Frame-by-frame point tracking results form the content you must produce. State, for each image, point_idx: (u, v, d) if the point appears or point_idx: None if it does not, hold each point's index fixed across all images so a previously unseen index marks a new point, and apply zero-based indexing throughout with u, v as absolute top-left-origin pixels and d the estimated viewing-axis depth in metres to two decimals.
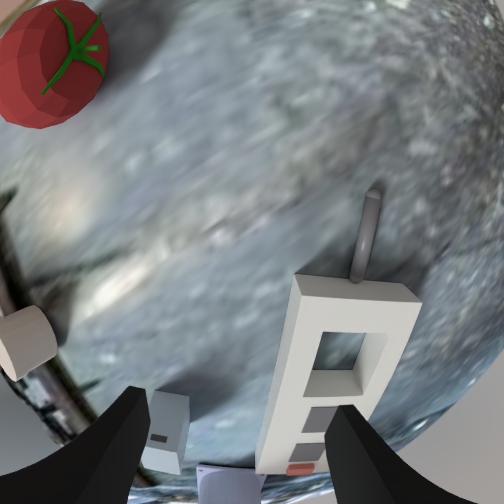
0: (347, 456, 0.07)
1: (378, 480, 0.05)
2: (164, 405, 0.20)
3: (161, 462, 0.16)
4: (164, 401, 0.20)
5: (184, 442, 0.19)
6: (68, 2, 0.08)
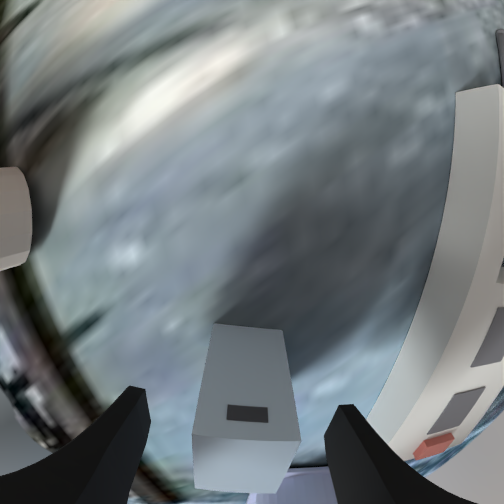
0: (347, 456, 0.07)
1: (378, 480, 0.05)
2: (240, 346, 0.11)
3: (244, 473, 0.07)
4: (238, 340, 0.11)
5: None
6: None
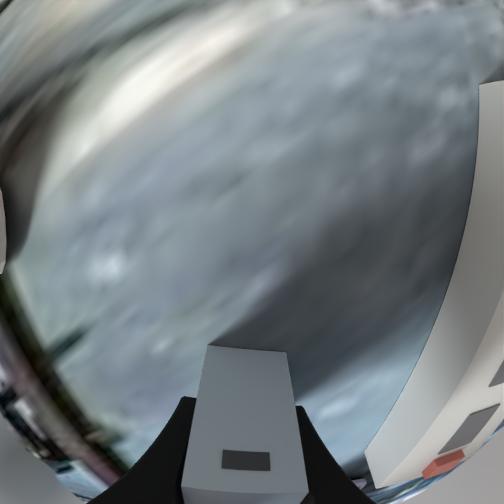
0: None
1: (309, 490, 0.05)
2: (238, 375, 0.09)
3: None
4: (235, 366, 0.10)
5: None
6: None
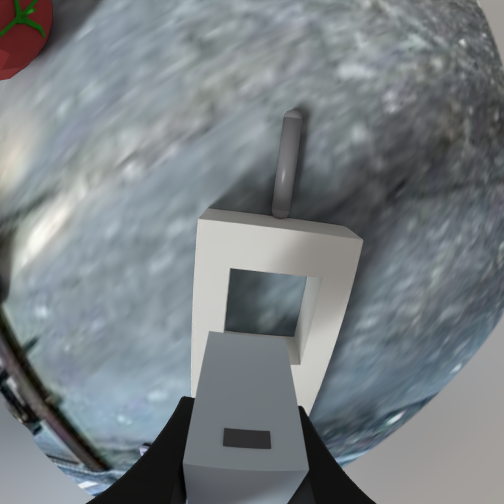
0: None
1: (309, 490, 0.05)
2: (239, 358, 0.09)
3: (243, 499, 0.06)
4: (236, 350, 0.10)
5: None
6: None
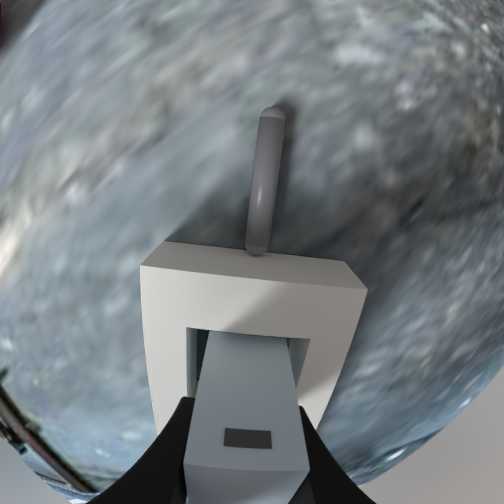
0: None
1: (309, 490, 0.05)
2: (239, 358, 0.09)
3: (244, 499, 0.06)
4: (236, 350, 0.10)
5: None
6: None
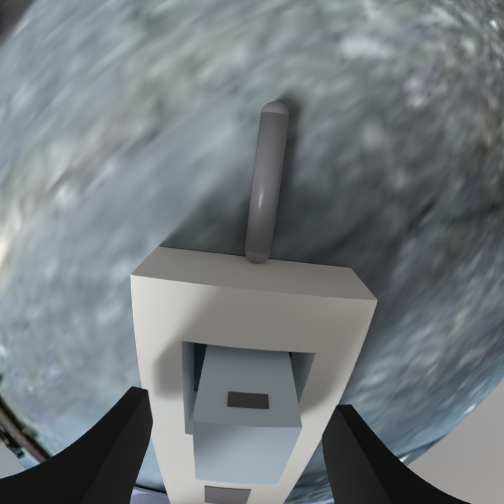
0: (344, 456, 0.07)
1: (375, 481, 0.05)
2: None
3: (245, 462, 0.07)
4: None
5: None
6: None
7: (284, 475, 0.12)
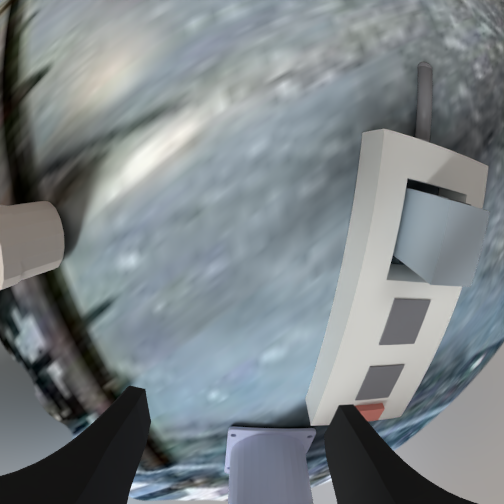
0: (347, 456, 0.07)
1: (378, 480, 0.05)
2: (421, 191, 0.15)
3: (464, 251, 0.11)
4: None
5: None
6: None
7: (433, 336, 0.16)
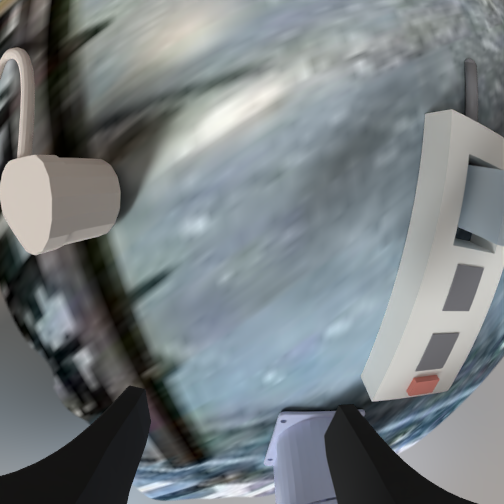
0: (347, 456, 0.07)
1: (378, 480, 0.05)
2: None
3: None
4: None
5: None
6: None
7: (483, 304, 0.15)
